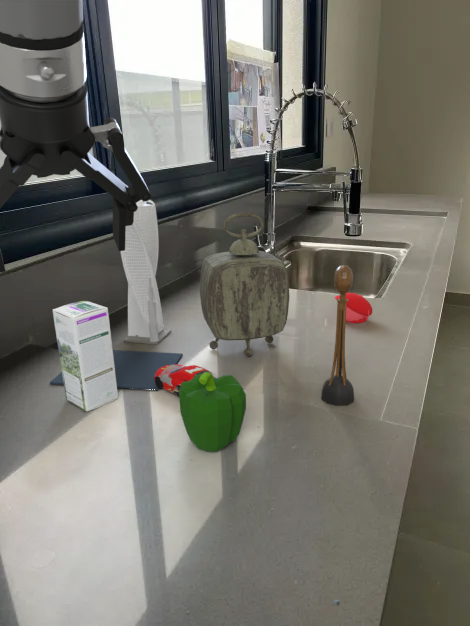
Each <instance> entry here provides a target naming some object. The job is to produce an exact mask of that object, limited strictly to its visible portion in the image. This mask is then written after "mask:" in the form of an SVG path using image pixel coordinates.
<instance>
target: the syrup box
mask: <svg viewBox="0 0 470 626" xmlns="http://www.w3.org/2000/svg"><path fill="white" fill-rule="evenodd" d="M52 316H53V323H54V330H55V335H56V343H57V348H58V355H59V356H58V357H59V363H60V369H61V372H62V376H63V382H64V385H63V388H64V395H65V401H67V402H69V403H70V404H72V405H74V406H76V407H78V408H79V409H81V410H82V411H84V412H90V411H92V410H95V409H97V408H100V407H103V406H105V405H108V404H109V403H111V402H113V401H115V400H118V399H119V393H118V389H117V383H116V375H115V366H114V357H113V350H114V349H113V342H112V331H111V323H110V314H109V308H108V307H106V306H103V305H100V304H98V303H94V302H92V301H88V300H81V301H74V302H72V303H67V304H65V305H62V306H59V307H56V308H53V309H52Z"/></svg>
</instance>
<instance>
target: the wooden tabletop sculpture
mask: <svg viewBox="0 0 470 626" xmlns="http://www.w3.org/2000/svg"><path fill="white" fill-rule="evenodd" d="M333 276H334V278H333V285H334V288H335V290H336V292H337V293H339V295H340V298H339V299H337V300H336V302H337V303H336V304H337V307H336V325H335V326H336V327H335V344H334V350H333V351H334V353H333V360H332V367H331V373H330V377H329V378H328V379H326V380H325V381H324V382H323V385H322V388H321V400H322V401H323V402H324V403H326V404H327V405H332V406H335V407H342V406H343V407H344V406H349V405H351V404H352V403H354V402H355V391H354V386H353V384H352V382H351V381H350V380H349V379H348V378H347V377H348V376H347V372H346V371H347V370H346V323H347V322H346V306H347V302H348V299H346V293H350V291H351V289H352V287H353V284H354V272H353V269H352V268H351V267H350V266H349V265H348V264H340V265H339V266H338V267H337V268H336V269H335V272H334V275H333Z"/></svg>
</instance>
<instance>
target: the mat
mask: <svg viewBox="0 0 470 626" xmlns="http://www.w3.org/2000/svg"><path fill="white" fill-rule="evenodd" d="M113 357H114V366H115V375H116V383H117V388H131V389H130V390H132V388H133V389H151V390H152V389H153V390H154V389H155V390H159V388H158V387H157V386H156V383H155V381H154V376H155V373H156V372H157V370H158V369H159V368H161V367H163V366H167V365H178V364H179V362H180V360H181V359H182V357H183V353H179V352H161V351H159V352H158V351H141V350H140V351H139V350H121V349H113ZM49 384H50V385H55V386H56V385H57V386H64V382H63V376H62V371H61V372H59V374H57V375H56V376H55V377H54V378H53V379H51V380H50V381H49ZM159 391H160V390H159Z"/></svg>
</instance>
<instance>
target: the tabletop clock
mask: <svg viewBox="0 0 470 626" xmlns="http://www.w3.org/2000/svg"><path fill="white" fill-rule="evenodd" d="M242 217H243V218H245V217H251V218H254V219H256V220H258V221H259V223H260V228H259V229H257V230H256V231H253V232H249V233H248V230H247V229H246V228H243V229H241V230H240V233H234V232H231V231H229V230H228V229H227V225H228V224H229V222H231V221H232V220H234V219H236V218H242ZM264 228H265V223H264V220H263V219H262V217H260V215H259V214H256V213H254V212H248V211H247V212H245V211H243V212H237V213H234V214H232V215H230V216H228V217H227V218H226V219H225V221H224V223H223V231H224V232H225V234H227V236H230V237H232V238H235V239H237V240H235V241H234V242H233V243H231V246H230V247H229V250H228V251H223V252H218V253H216V252H215V253H214V254H210V255H208V256H207V257H205V258H203V259H204V260H203V261H202V265H201V269H200V276H199V277H200V279H199V296H200V297H199V298H200V306H201V311H202V315H203V316H202V317H203V319H204V321H205V322H206V324H207V326H208V328H209V330H210V331H211V333H212V334H213V336H214V338H215V339H214V340H210V342H209V343H208V345H209V349H211V350H216V349H218V347H219V343H218V342H219V341H220V340H222V341H245V344H246V345H245V346H246V348H245V349H243V352H244V355H245V356H246V357H252V356H253V355H254V350H253V348H251V340H256V339H257V340H258V339H263V338H264V341H265V343H266V344H272V343H273V341H274V336H275V335H278V334H280V332H284V329H285V327H286V324H287V320H288V315H289V309H290V308H289V307H290V297H291V296H290V280H289V274H288V269H287V266H286V264H285V261H283V260H281V259H280V258H278V257H276V256H275V255H273V254H272V253H269V252H266V251H265V250H264V251H263V250H260V249H259V247H258V245H257V244H256V242H255V241H254V240H252V239H248V238H253V237H255V236H257V235H259V234H260V233H262V232H263V230H264Z"/></svg>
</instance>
